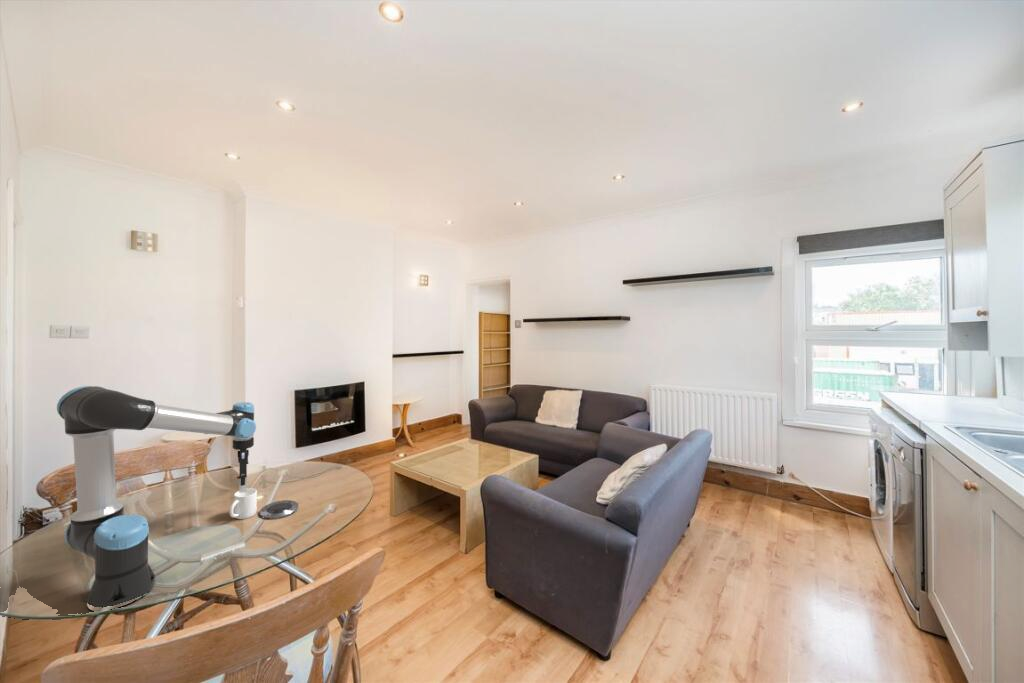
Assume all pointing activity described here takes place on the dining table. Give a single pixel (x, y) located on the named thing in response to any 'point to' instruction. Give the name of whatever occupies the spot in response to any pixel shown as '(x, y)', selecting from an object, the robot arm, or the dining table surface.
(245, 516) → the mug
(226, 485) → the dining table surface
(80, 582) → the dining table surface
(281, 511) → the metal plate
